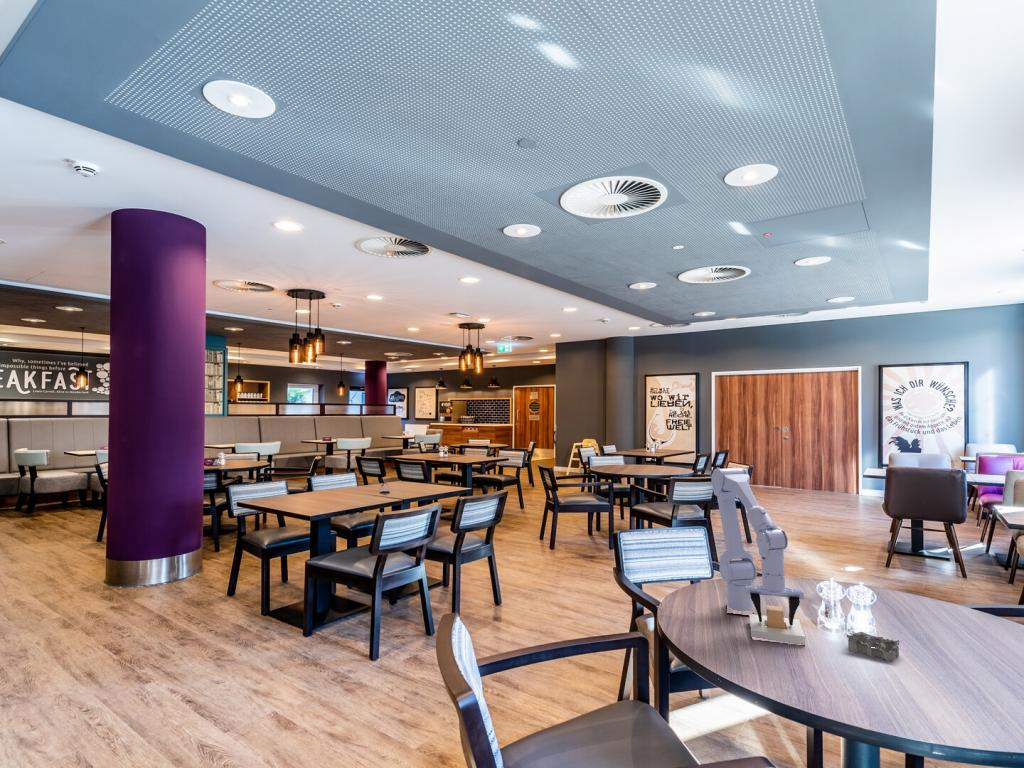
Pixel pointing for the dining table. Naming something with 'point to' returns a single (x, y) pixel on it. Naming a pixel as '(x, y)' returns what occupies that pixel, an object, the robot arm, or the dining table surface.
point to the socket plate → (777, 630)
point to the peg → (775, 617)
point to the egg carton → (873, 645)
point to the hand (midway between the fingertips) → (775, 622)
